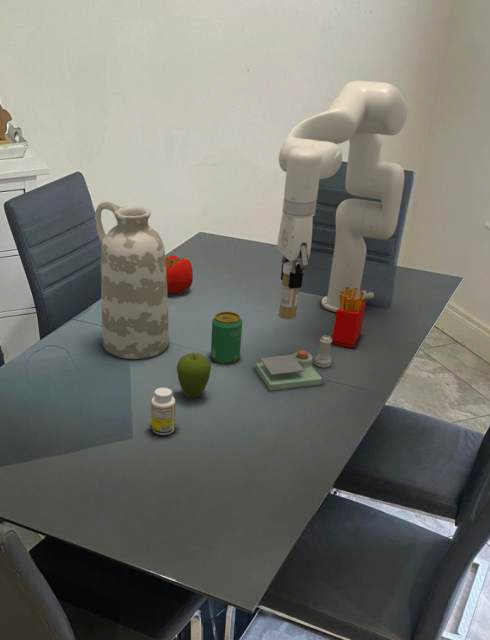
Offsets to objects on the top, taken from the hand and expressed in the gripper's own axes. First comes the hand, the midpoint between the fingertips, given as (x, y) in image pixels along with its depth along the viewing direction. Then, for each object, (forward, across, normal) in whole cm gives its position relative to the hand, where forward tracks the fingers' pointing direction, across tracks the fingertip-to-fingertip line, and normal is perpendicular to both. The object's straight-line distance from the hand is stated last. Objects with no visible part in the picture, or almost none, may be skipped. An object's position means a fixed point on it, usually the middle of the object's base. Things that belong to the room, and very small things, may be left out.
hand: (290, 283), depth 182 cm
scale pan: (+21, +3, -1) cm, 21 cm away
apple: (+24, +7, -26) cm, 37 cm away
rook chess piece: (+24, -1, +12) cm, 27 cm away
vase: (+24, -25, -35) cm, 50 cm away
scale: (+24, +3, +1) cm, 24 cm away
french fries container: (+25, -14, +25) cm, 38 cm away
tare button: (+21, 0, +6) cm, 22 cm away
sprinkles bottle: (+9, 0, 0) cm, 9 cm away
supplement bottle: (+24, +21, -37) cm, 49 cm away
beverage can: (+24, -11, -12) cm, 29 cm away
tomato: (+25, -61, -15) cm, 67 cm away
